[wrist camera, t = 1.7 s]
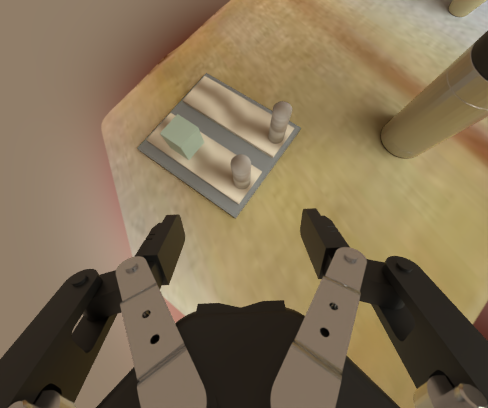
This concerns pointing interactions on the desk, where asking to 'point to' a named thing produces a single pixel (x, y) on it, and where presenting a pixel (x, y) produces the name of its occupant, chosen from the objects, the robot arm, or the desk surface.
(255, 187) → the lane board
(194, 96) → the empty strip
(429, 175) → the desk surface
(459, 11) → the mug
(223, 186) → the block strip
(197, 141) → the sage block
